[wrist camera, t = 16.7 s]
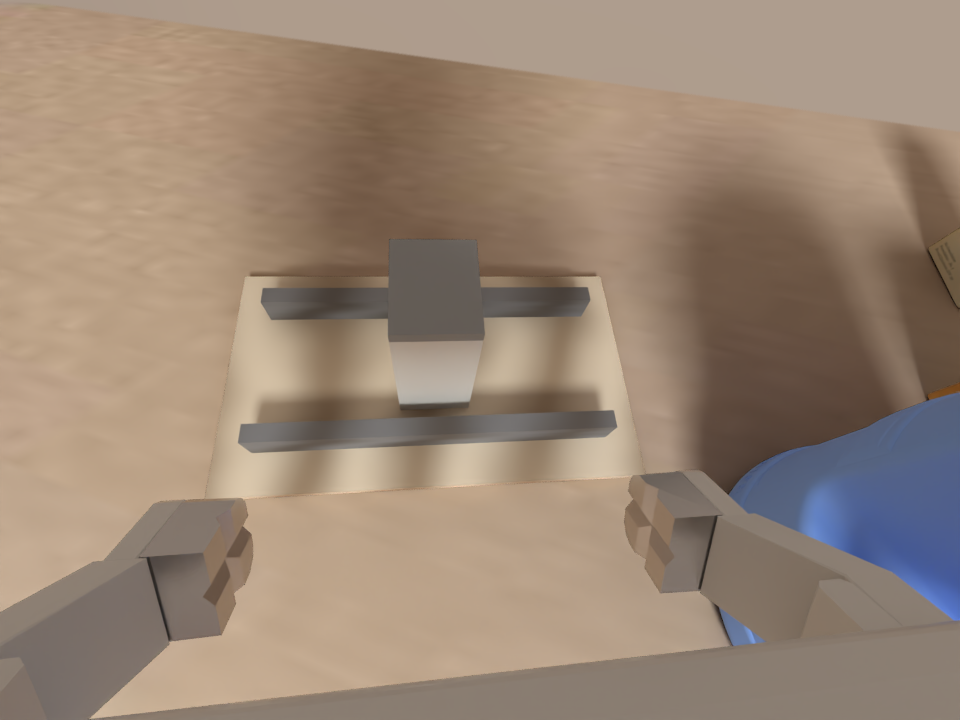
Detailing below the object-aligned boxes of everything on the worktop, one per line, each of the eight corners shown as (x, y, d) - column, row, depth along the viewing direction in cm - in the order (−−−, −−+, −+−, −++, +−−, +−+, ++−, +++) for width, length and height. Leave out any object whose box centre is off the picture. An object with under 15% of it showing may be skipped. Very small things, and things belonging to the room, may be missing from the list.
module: (400, 410, 26) (387, 335, 18) (400, 335, 29) (389, 239, 21) (468, 407, 27) (485, 333, 19) (463, 334, 29) (476, 239, 21)
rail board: (209, 500, 24) (185, 492, 22) (248, 281, 30) (233, 256, 28) (641, 476, 27) (661, 466, 24) (597, 281, 33) (610, 258, 31)
